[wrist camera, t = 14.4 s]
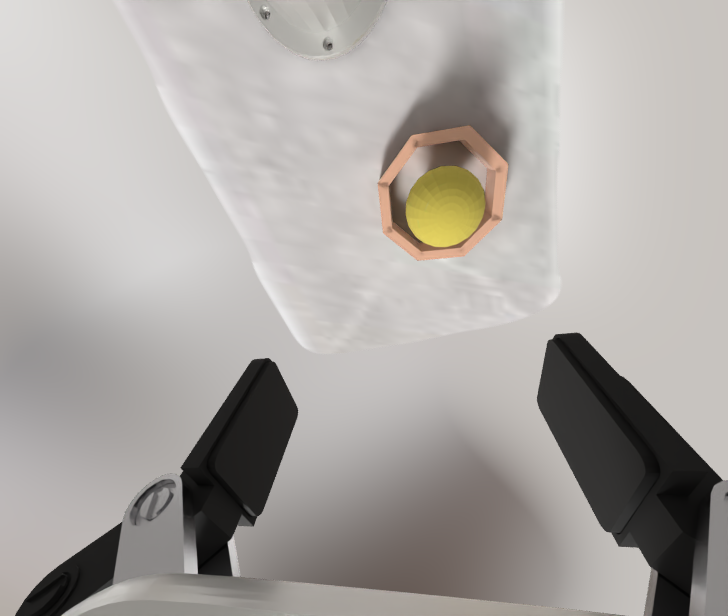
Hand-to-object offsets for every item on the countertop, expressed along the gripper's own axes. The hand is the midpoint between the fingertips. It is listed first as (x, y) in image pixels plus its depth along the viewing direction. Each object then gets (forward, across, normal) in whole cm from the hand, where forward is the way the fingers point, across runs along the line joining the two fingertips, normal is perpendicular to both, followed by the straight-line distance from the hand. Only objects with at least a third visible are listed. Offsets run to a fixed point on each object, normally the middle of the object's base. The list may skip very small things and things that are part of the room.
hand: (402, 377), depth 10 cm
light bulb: (+25, -4, -1) cm, 26 cm away
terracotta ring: (+25, -4, -1) cm, 25 cm away
